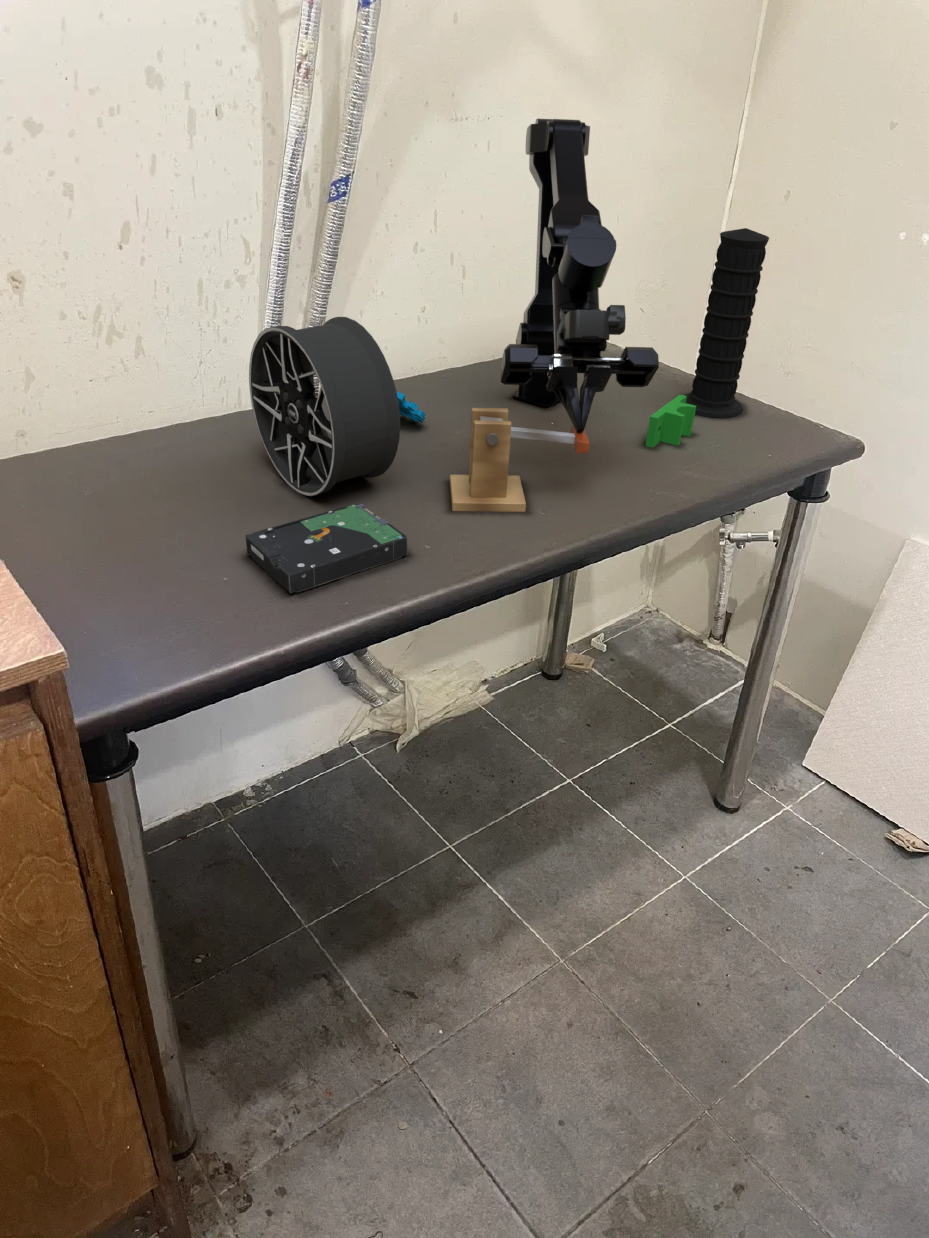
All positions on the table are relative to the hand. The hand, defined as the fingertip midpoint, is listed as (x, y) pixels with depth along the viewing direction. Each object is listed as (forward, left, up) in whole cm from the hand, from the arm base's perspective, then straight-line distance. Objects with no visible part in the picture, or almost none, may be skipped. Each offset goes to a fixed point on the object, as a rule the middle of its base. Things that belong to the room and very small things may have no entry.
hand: (580, 431), depth 111 cm
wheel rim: (-27, -17, -9) cm, 33 cm away
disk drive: (-13, -31, -9) cm, 35 cm away
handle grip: (-1, +43, -9) cm, 44 cm away
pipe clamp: (0, +27, -9) cm, 28 cm away
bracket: (-8, -7, -9) cm, 14 cm away
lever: (-5, -4, -2) cm, 6 cm away
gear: (-33, +3, -9) cm, 34 cm away
